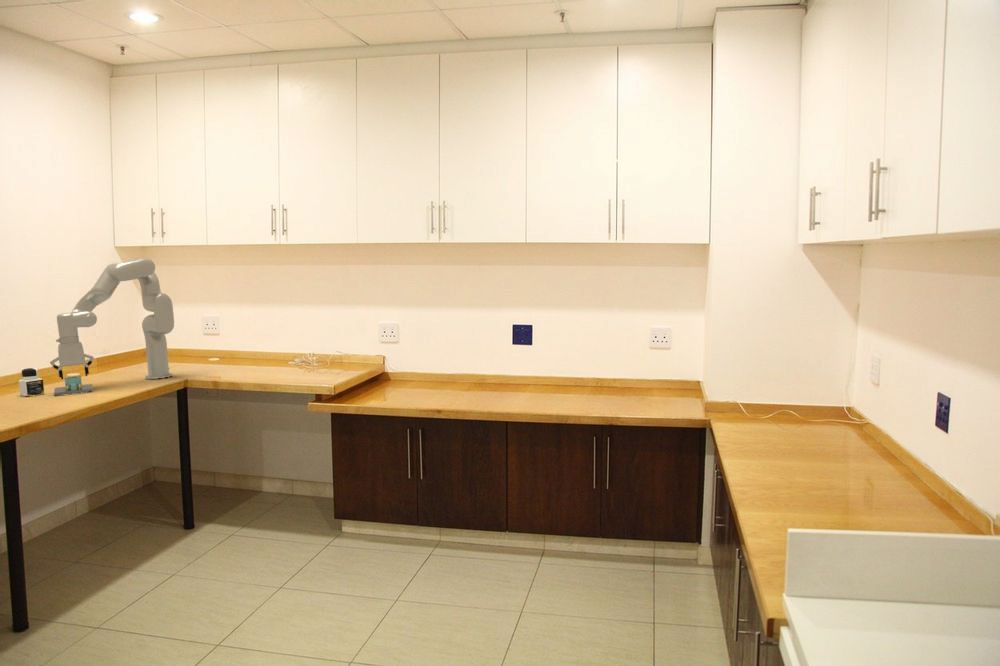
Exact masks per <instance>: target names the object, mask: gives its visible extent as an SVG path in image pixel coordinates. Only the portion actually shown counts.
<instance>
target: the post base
mask: <svg viewBox="0 0 1000 666" xmlns="http://www.w3.org/2000/svg"><path fill="white" fill-rule="evenodd" d="M93 387H94V386H93V384H92V383H88V384H87V383H86V384H82V388H81V385H78V389H77V390H69V386H66V387H65V386H58V387H54V390H53V391H54V393H53V394H54V396H55V395H60V396H63V395H62V394H69V395H73V394H72V393H78V394H82V393H81V392H87V393H90V392H89V391H93V392H94V388H93Z"/></svg>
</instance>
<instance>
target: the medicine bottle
mask: <svg viewBox="0 0 1000 666" xmlns="http://www.w3.org/2000/svg"><path fill="white" fill-rule="evenodd" d="M38 371H39V369H38V368H36V367H35V368H34V367H32V368H31V367H30V368H23V369H21V377H22V379H19V380H18V389H19V396H20V395H22V396H21V397H25V396H31V397H34V396H33V395H36V396H39V395H38V394H42V395H45V386H44V379H43V378H40V377H39V372H38Z"/></svg>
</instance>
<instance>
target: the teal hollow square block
mask: <svg viewBox="0 0 1000 666" xmlns="http://www.w3.org/2000/svg"><path fill="white" fill-rule="evenodd" d="M64 385H65V386H64V387H66V386H69V390H77V389H78V385H81V388H82V385H83V384H82V376H81V375H74V376H66V377H65V376H64Z"/></svg>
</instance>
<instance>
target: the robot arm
mask: <svg viewBox="0 0 1000 666" xmlns="http://www.w3.org/2000/svg"><path fill="white" fill-rule="evenodd" d="M155 270H156V263H155V262H154V261H153V260H152V259H149V258H146V257H142V258H139V257H137V258H131V259H129V260H127V261H126V262H119V263H118V262H115V263H110V264H108V265H106V267H105V268H104V269H103V271H102V273H101V274H100V276H99V278H97V280H96V282H95V283H94V285H93V286H92V288H91V289H90V290H89V291H88V292H86V293H85V294H84V295H83V296H82V297H81V298H80V299H79V300H78V302H77V303H76V304H75V306H74V307H73V309H72V310H71V312H64V313H58V314H57V316H56V324H57V329H58V330H57V331H58V337H59V338H56V339H55V342H56V343H59V344H58V347H57V350H58V351H57V352H58V354H57V355H58V356H56V358H54V359H52V360H50V361H49V364H50V365H51V366H52V368H53V369H55V370H56V371H58V377H59V378H60V379H61V380H64V374H63V367H70V366H79V365H83V366H84V368H83V369H84V373H85V377H88V374H90V373H89V372H90V371H89V367H90V365H92V363H93V361H94V359H95V358H94V356H92V355H89V354H86V353H85V352H84V348H83V343H82V341H80V338H79V331H78V330H79V329H78V328H90V327H93V326H94V325H96V324H97V321H98V316H97V315H96V313H95V312H93V310H94V309H95V308H96V307H97V306H99V305H100V304H102V303H104V302H106V301H107V300H109V299H110V298H111V297H112V295H113V294H114V293H115V291H116V289H117V288H118V286H119V285H120V283H121V282H128V281H133V280H136V279H137V280H138V282H139V285H140V289H141V291H140V292H141V298H142V299H141V300H142V301H141V302H142V306H143V308H144V310H145V311H147V312H151V313H153V314H149V315H146V316H145V317H144V318H143V320H142V322H141V327H142V332H143V336H144V341H145V351H146V352H145V353H146V362H147V364H146V365H147V375H145V376H144V378H145V380H159V379H158V378H162V379H166V378H165V377H168V378H171V377H170V376H172V377H173V376H174V375H173V373H172V372H170V367H169V356H168V342H167V337H166V335H168V334H170V333H171V332H172V331H173V330H174V327H175V317H174V315H175V314H174V307H173V306H174V305H173V302H172V299H171V298H170V296H169V295H168V294H166V293H163V292H161V287H160V280H159V277H158V276H157V274H156V273H155ZM86 359H88V362H86ZM58 361H59V362H58ZM56 362H58V363H59V366H58V365H56Z"/></svg>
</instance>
